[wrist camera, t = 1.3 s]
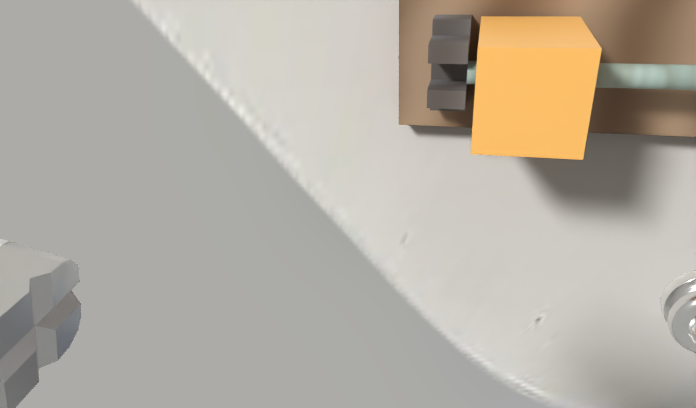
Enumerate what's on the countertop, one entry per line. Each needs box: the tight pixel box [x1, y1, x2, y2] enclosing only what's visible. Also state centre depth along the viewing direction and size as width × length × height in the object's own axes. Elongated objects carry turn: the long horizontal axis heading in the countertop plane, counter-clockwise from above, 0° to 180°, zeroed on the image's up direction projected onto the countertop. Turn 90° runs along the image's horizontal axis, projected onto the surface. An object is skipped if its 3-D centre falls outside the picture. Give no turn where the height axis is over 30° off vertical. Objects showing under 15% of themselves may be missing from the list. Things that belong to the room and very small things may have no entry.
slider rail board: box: [399, 0, 696, 137], centre depth 29 cm, size 26×8×7 cm, turn 92°
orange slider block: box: [471, 16, 602, 160], centre depth 28 cm, size 5×5×7 cm
